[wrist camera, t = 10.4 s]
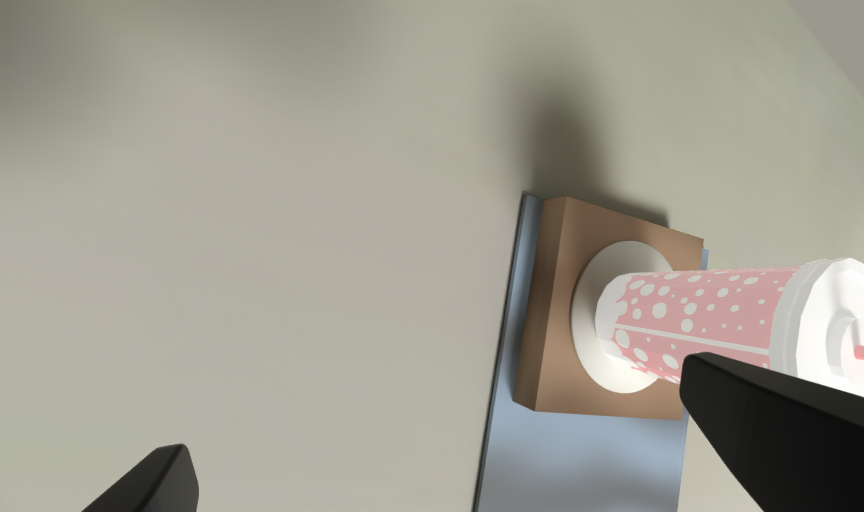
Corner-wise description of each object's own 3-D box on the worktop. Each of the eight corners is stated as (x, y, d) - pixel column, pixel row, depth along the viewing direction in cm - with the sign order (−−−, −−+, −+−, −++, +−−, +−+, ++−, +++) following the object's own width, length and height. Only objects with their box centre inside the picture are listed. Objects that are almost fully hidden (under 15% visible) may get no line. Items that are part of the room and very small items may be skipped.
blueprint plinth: (671, 514, 28) (707, 534, 26) (471, 527, 22) (497, 553, 20) (704, 250, 30) (740, 249, 28) (523, 195, 24) (553, 189, 22)
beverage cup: (669, 376, 25) (1144, 497, 12) (580, 385, 22) (1069, 550, 10) (673, 260, 25) (1145, 262, 13) (584, 255, 23) (1071, 251, 10)
